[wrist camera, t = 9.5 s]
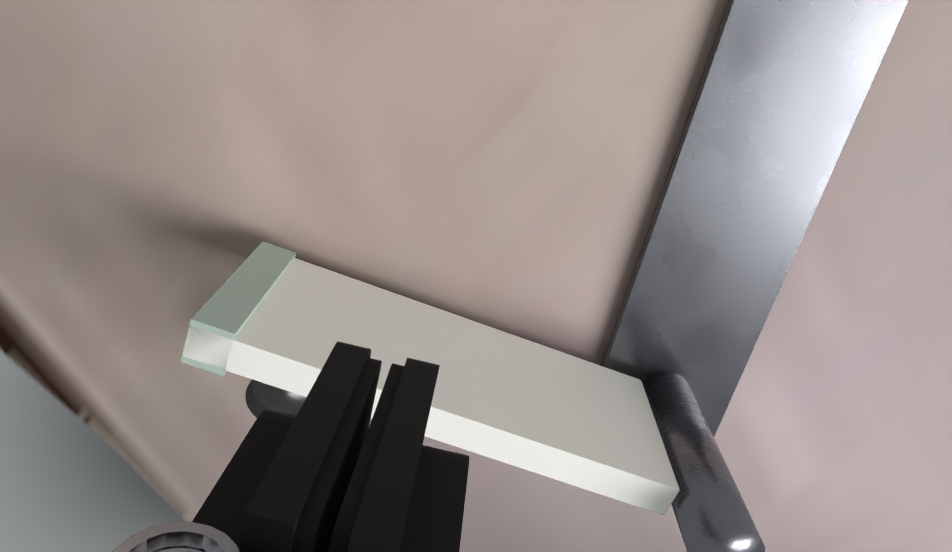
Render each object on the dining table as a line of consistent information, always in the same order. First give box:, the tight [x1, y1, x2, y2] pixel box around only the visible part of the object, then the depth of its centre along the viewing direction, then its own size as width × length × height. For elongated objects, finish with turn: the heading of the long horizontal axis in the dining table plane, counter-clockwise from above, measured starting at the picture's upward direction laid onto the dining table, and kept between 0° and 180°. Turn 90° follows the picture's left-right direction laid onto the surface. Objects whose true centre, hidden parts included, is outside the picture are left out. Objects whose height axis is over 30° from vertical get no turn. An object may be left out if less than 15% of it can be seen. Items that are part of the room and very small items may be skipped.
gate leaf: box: [181, 241, 680, 515], centre depth 22 cm, size 14×1×6 cm, turn 69°
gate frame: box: [246, 0, 908, 552], centre depth 19 cm, size 22×17×8 cm
